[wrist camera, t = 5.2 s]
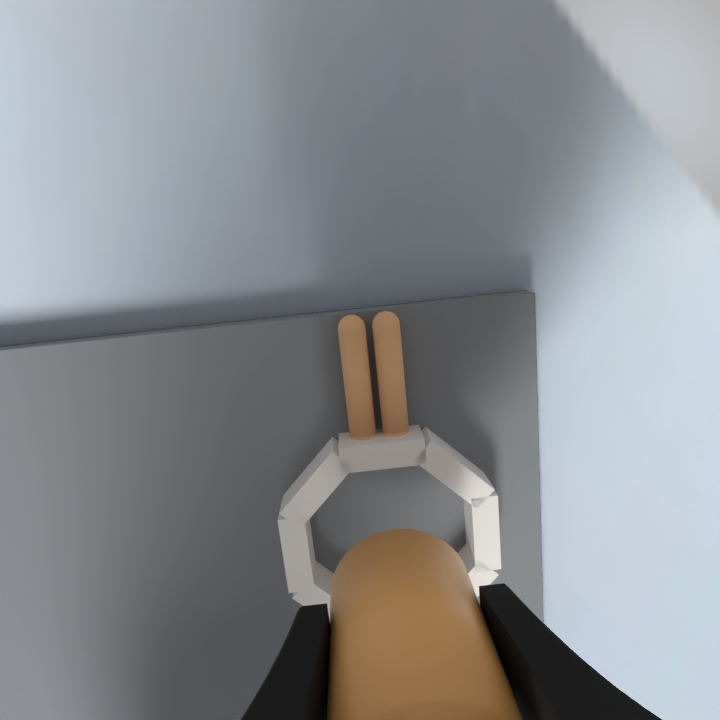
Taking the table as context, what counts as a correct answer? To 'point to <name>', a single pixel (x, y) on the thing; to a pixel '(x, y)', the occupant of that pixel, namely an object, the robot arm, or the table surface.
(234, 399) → the mat
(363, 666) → the stepped orange capsule
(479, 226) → the table surface
